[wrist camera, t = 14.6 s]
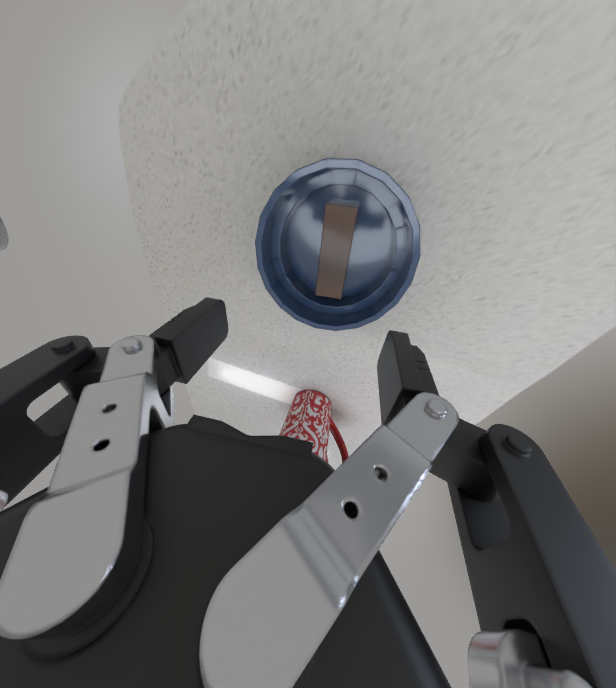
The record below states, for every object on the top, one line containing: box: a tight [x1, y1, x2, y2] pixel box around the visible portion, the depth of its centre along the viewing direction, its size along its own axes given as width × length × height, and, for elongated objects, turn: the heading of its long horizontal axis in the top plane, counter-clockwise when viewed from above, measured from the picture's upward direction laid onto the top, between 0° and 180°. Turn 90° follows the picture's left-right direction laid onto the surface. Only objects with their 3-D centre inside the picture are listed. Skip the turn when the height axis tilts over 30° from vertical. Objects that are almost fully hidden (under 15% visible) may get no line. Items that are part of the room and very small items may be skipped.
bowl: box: [255, 158, 420, 331], centre depth 24 cm, size 15×15×6 cm
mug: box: [279, 390, 348, 463], centre depth 38 cm, size 13×9×14 cm
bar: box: [315, 201, 359, 299], centre depth 24 cm, size 9×3×3 cm, turn 175°
